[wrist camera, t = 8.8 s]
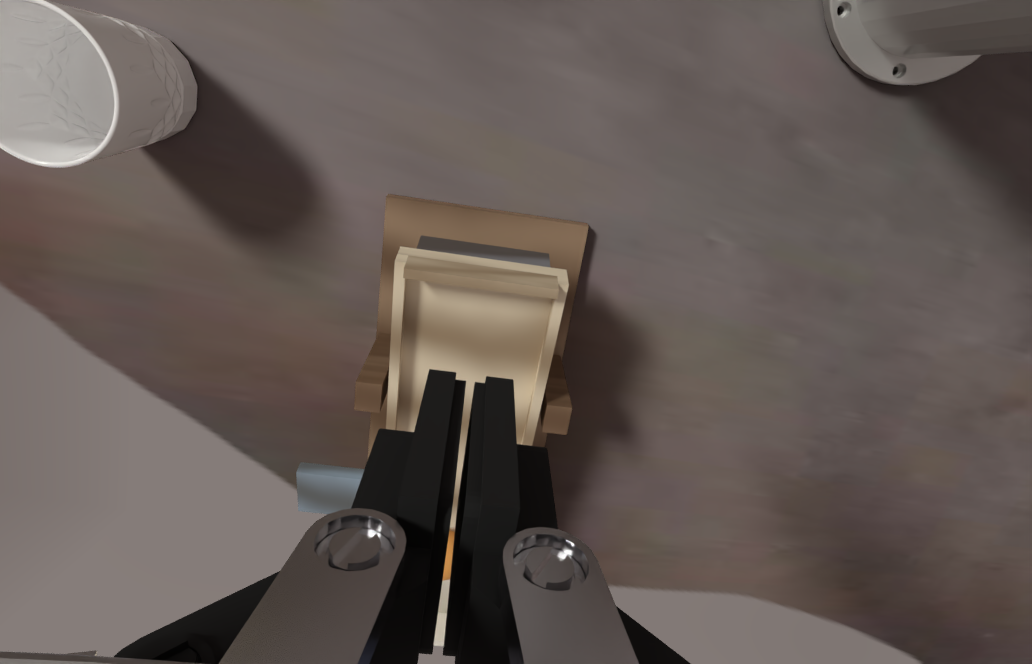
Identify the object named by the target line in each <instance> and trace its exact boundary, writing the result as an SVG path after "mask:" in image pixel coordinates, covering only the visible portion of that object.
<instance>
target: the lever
mask: <svg viewBox="0 0 1032 664" xmlns="http://www.w3.org/2000/svg"><path fill="white" fill-rule="evenodd" d="M568 287H569V283H568V276H567V270H565V269H558V268H551V267H550V259H549V253H542V252H535V251H528V250H521V249H514V248H507V247H500V246H493V245H486V244H479V243H472V242H465V241H458V240H451V239H444V238H437V237H430V236H422V235H421V237H420V240H419V243H418V246H417V249H415V248H408V247H401V246H400V249H399V251H398V254H397V256H396V259H395V265H394V284H393V304H392V323H391V342H390V361H389V380H388V400H387V419H386V429H391V430H400V431H408V432H414V430H415V426H416V422H417V418H418V414H419V409H420V405H421V401H422V397H423V393H424V389H425V385H426V380H427V376H428V372H429V369H433V370H441V371H449V372H456V380H464V381H466V388H465V397H464V407H463V416H462V425H461V435H460V444H459V453H458V462H457V472H456V481H455V490H454V499H453V507H452V515H451V522H450V527H455V524H456V514H457V505H458V497H459V489H460V482H461V475H462V468H463V461H464V454H465V447H466V440H467V433H468V426H469V419H470V412H471V405H472V398H473V391H474V384H475V382H480V383H485V380H486V376H490V377H498V378H506V379H513V381H514V399H515V418H516V438H517V444H521V445H530V446H532V444H533V440H534V435H535V431H536V427H537V422H538V418H539V414H540V409H541V405H542V401H543V396H544V392H545V387H546V383H547V379H548V374H549V370H550V366H551V361H552V357H553V352H554V348H555V344H556V339H557V335H558V331H559V326H560V322H561V317H562V313H563V309H564V304H565V300H566V296H567V291H568ZM364 470H365V469H357V468H348V467H339V466H330V465H321V464H312V463H302V462H301V463H300V465H299V467H298V470H297V472H296V475H297V493H298V510H299V511H304V512H313V513H323V514H330V513H333V512H337V511H340V510H343V509H351V507H352V504H353V501H354V499H355V496H356V493H357V490H358V487H359V484H360V481H361V478H362V475H363V473H364Z"/></svg>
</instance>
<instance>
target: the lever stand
mask: <svg viewBox="0 0 1032 664" xmlns="http://www.w3.org/2000/svg"><path fill="white" fill-rule="evenodd" d="M588 228H589V226H588V224H587V223H581V222H575V221H568V220H561V219H554V218H547V217H541V216H534V215H527V214H520V213H514V212H507V211H500V210H493V209H486V208H480V207H473V206H466V205H459V204H453V203H446V202H439V201H432V200H425V199H419V198H412V197H405V196H398V195H392V194H388V195H387V196H386V209H385V223H384V237H383V251H382V265H381V279H380V293H379V307H378V321H377V335H376V341H375V343H374V345H373V347H372V349H371V351H370V353H369V355H368V357H367V359H366V362H365V364H364V366H363V368H362V370H361V372H360V374H359V376H358V378H357V380H356V387H355V404H354V410H359V411H367V412H371V420H370V434H369V448H368V458H369V455H370V452H371V449H372V447H373V444H374V441H375V438H376V435H377V432H378V430H379V429H380V428H382V429H386V419H387V400H388V380H389V361H390V342H391V323H392V304H393V284H394V265H395V259H396V256H397V254H398V251H399V249H400V246H401V247H408V248H415V249H417V246H418V243H419V240H420V237H421V235H422V236H430V237H437V238H444V239H451V240H458V241H465V242H472V243H479V244H486V245H493V246H500V247H507V248H514V249H521V250H528V251H535V252H542V253H549V259H550V267H551V268H558V269H565V270H567V276H568V283H569V287H568V291H567V296H566V300H565V304H564V309H563V313H562V317H561V322H560V326H559V331H558V335H557V339H556V344H555V348H554V352H553V357H552V361H551V366H550V370H549V374H548V379H547V383H546V387H545V392H544V396H543V401H542V405H541V409H540V414H539V418H538V422H537V427H536V431H535V435H534V440H533V444H532V446H538V447H545V443H546V438H547V433H554V434H563V435H567V431H568V426H569V421H570V417H571V412H572V404H571V400H570V396H569V391H568V387H567V383H566V378H565V374H564V369H563V365H562V358H563V353H564V348H565V343H566V338H567V333H568V328H569V323H570V318H571V313H572V308H573V303H574V298H575V293H576V288H577V283H578V278H579V273H580V268H581V263H582V258H583V253H584V248H585V243H586V238H587V233H588Z"/></svg>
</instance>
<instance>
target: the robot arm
mask: <svg viewBox="0 0 1032 664" xmlns="http://www.w3.org/2000/svg"><path fill="white" fill-rule="evenodd" d="M838 7H839V8H840V13H839V15H838V14H837V8H838ZM823 8H824V17H825V23H826V26H827V29H828V32H829V35H830V38H831V41H832V42H833V44H834V46H835V48H836V49H837V51H838V53H839V55H840V56H841V57H842V58H843V59H844V60H845V61H846V62H847V63H848V65H849V66H850V67H851V68H852V69H854V70H855V71H857V72H858V73H860V74H861V75H863V76H864V77H866V78H869V79H872V80H874V81H877V82H880V83H884V84H892V85H919V84H924V83H929V82H934V81H937V80H940V79H942V78H945V77H948V76H950V75H953V74H955V73H957V72H958V71H960V70H962V69H963V68H965V67H967V66H968V65H970V64H972V63H973V62H974V61H976V60H977V59H978V58H979V57H980V56H982V55H985V54H1002V53H1019V52H1032V0H823ZM893 69H894V73H893ZM892 73H893V74H892ZM465 388H466V381H464V380H456V372H449V371H441V370H433V369H429V372H428V376H427V380H426V385H425V389H424V393H423V397H422V401H421V405H420V409H419V414H418V418H417V422H416V426H415V430H414V432H408V431H400V430H391V429H382V428H380V429H379V430H378V432H377V435H376V438H375V441H374V444H373V447H372V449H371V452H370V455H369V458H368V461H367V464H366V467H365V470H364V473H363V475H362V478H361V481H360V484H359V487H358V490H357V493H356V496H355V499H354V501H353V504H352V507H351V509H343V510H340V511H337V512H333V513H330V514H328V515H326V516H324V517H323V518H321V519H319V520H317V521H316V522H315V523H314V524H313V525H312V526H311V527H310V528H309V529H308V530H307V532H306V533H305V535H304V536H303V538H302V539H301V541H300V542H299V544H298V545H297V547H296V548H295V550H294V551H293V553H292V554H291V556H290V557H289V559H288V560H287V562H286V563H285V565H284V566H283V568H282V569H281V571H279V572H277V573H275V574H273V575H271V576H269V577H267V578H265V579H262V580H260V581H258V582H256V583H254V584H252V585H250V586H248V587H246V588H244V589H242V590H240V591H237V592H235V593H233V594H231V595H229V596H227V597H225V598H223V599H221V600H219V601H217V602H214V603H213V604H211V605H208V606H206V607H204V608H202V609H200V610H198V611H196V612H194V613H192V614H190V615H187V616H185V617H183V618H181V619H179V620H177V621H175V622H173V623H171V624H169V625H167V626H165V627H162V628H160V629H158V630H156V631H154V632H152V633H150V634H148V635H146V636H144V637H142V638H140V639H138V640H137V641H135V642H134V643H132V644H130V645H128V646H127V647H125V648H123V649H122V650H121V651H120V652H118V653H117V654H116V655H115V656H114V657H103V656H97V651H88V652H79V653H70V654H52V653H51V654H50V653H27V652H0V664H417V663H418V655H419V653H422V654H432V652H433V645H434V638H435V630H436V623H437V616H438V609H439V602H440V594H441V587H442V580H443V573H444V566H445V558H446V551H447V544H448V537H449V529H450V522H451V515H452V507H453V499H454V490H455V481H456V472H457V462H458V453H459V444H460V435H461V425H462V416H463V407H464V397H465ZM443 655H446V656H455V664H690V663H689V662H688V661H686V660H685V659H684V658H683V657H681V656H680V655H679V654H677V653H676V652H675V651H673V650H672V649H671V648H669V647H668V646H667V645H666V644H664V643H663V642H662V641H661V640H659V639H658V638H656V637H655V636H654V635H653V634H651V633H650V632H649V631H648V630H646V629H645V628H644V627H642V626H641V625H640V624H639V623H637V622H636V621H635V620H633V619H632V618H631V617H629V616H628V615H627V614H626V613H624V612H623V611H622V610H620V609H619V608H618V607H617V606H616V605H615V603H614V600H613V598H612V595H611V593H610V590H609V588H608V585H607V583H606V580H605V578H604V575H603V573H602V570H601V568H600V565H599V563H598V560H597V559H596V557H595V555H594V554H593V552H592V550H591V549H590V548H589V547H588V546H587V545H586V544H585V543H583V542H582V541H581V540H580V539H578V538H576V537H575V536H573V535H571V534H569V533H567V532H564V531H561V530H558V526H557V519H556V512H555V504H554V497H553V489H552V482H551V474H550V467H549V459H548V452H547V448H545V447H538V446H530V445H521V444H517V438H516V418H515V399H514V381H513V379H506V378H498V377H490V376H486V380H485V383H480V382H475V384H474V391H473V398H472V405H471V412H470V419H469V426H468V433H467V440H466V447H465V454H464V461H463V468H462V475H461V482H460V489H459V497H458V505H457V514H456V524H455V534H454V545H453V555H452V565H451V576H450V586H449V596H448V607H447V617H446V627H445V638H444V648H443Z"/></svg>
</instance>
